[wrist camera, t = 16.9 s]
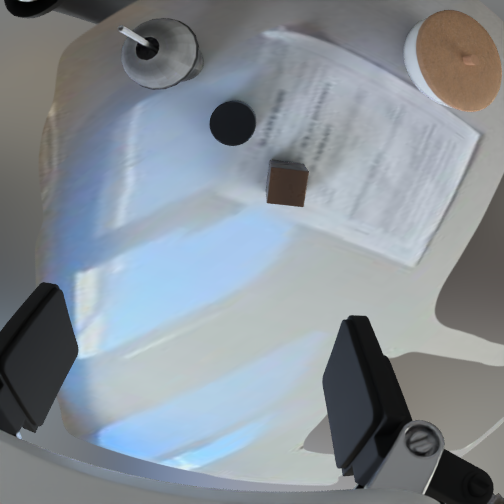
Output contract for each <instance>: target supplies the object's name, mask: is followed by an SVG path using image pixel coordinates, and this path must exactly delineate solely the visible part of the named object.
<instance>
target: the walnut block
mask: <svg viewBox="0 0 504 504" xmlns="http://www.w3.org/2000/svg"><path fill="white" fill-rule="evenodd" d="M308 175H309V171H308V170H307V168H306V167H305V165H304V164H300V163H292V162H284V161H275V160H270V161H269V170H268V178H267V187H266V199H267V203H270V204H280V205H289V206H298V207H304V201H305V195H306V188H307V182H308Z"/></svg>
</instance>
